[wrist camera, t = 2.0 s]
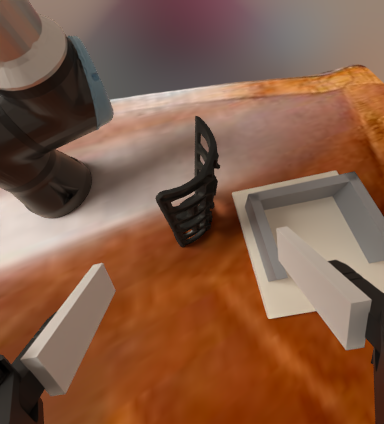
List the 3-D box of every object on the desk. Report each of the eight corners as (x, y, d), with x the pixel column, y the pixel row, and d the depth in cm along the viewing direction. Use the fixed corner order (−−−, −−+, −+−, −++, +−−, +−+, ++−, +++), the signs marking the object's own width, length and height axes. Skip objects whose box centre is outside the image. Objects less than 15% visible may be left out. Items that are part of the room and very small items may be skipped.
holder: (177, 194, 39) (157, 111, 21) (213, 196, 39) (225, 114, 20) (169, 246, 35) (135, 201, 17) (209, 250, 35) (220, 208, 16)
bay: (231, 194, 38) (233, 178, 32) (333, 173, 37) (353, 152, 31) (267, 318, 29) (278, 324, 23) (403, 294, 28) (448, 295, 22)
